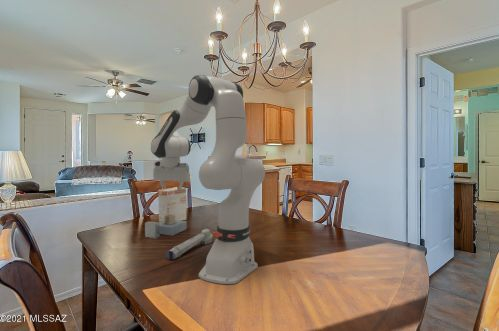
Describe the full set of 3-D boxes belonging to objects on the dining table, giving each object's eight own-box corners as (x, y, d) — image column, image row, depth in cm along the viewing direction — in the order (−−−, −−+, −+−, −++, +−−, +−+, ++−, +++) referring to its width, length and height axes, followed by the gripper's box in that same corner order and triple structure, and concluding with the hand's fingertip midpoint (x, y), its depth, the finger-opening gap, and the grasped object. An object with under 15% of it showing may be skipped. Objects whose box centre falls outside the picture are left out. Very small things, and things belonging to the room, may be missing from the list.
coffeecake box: (179, 217, 166) (178, 186, 165) (187, 219, 162) (186, 187, 160) (158, 223, 154) (157, 189, 153) (166, 225, 150) (165, 190, 148)
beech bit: (175, 230, 140) (175, 215, 140) (170, 232, 137) (170, 216, 136) (169, 229, 142) (169, 214, 141) (164, 231, 138) (164, 216, 138)
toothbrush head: (164, 249, 104) (204, 224, 125) (166, 265, 105) (206, 238, 126) (174, 251, 101) (214, 226, 122) (176, 268, 102) (215, 240, 124)
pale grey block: (155, 238, 127) (155, 224, 127) (145, 237, 129) (144, 222, 129) (159, 236, 130) (159, 222, 130) (149, 235, 132) (149, 221, 132)
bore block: (172, 235, 132) (172, 227, 131) (152, 232, 136) (152, 225, 135) (186, 228, 143) (186, 221, 142) (167, 226, 147) (167, 219, 147)
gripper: (192, 162, 137) (192, 189, 138) (159, 162, 144) (159, 187, 145) (185, 163, 131) (185, 191, 132) (151, 162, 138) (151, 189, 139)
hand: (171, 189), depth 139 cm, fingers open, 8 cm apart
